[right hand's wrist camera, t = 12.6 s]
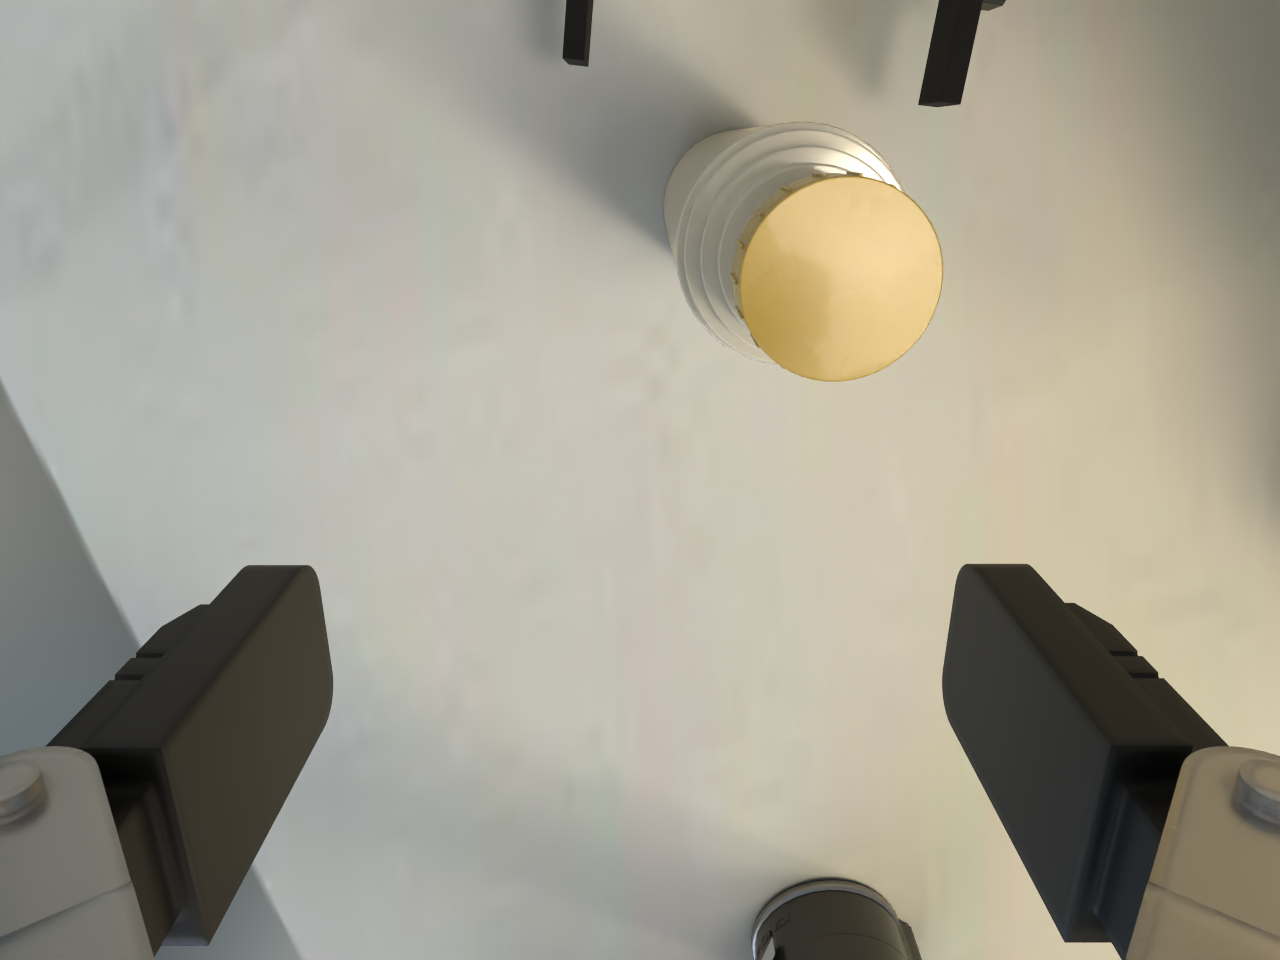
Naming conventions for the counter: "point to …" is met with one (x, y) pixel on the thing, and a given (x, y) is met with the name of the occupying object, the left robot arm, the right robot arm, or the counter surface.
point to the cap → (837, 275)
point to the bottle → (745, 206)
